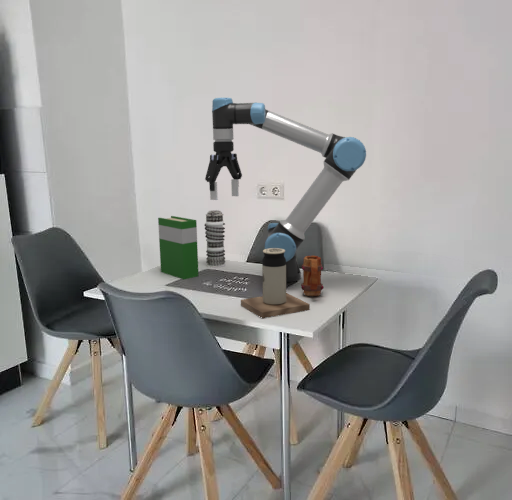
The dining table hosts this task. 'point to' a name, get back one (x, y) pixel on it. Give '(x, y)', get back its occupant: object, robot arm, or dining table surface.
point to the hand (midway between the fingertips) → (224, 198)
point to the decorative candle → (215, 239)
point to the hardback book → (178, 247)
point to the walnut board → (274, 306)
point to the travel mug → (274, 276)
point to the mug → (312, 276)
